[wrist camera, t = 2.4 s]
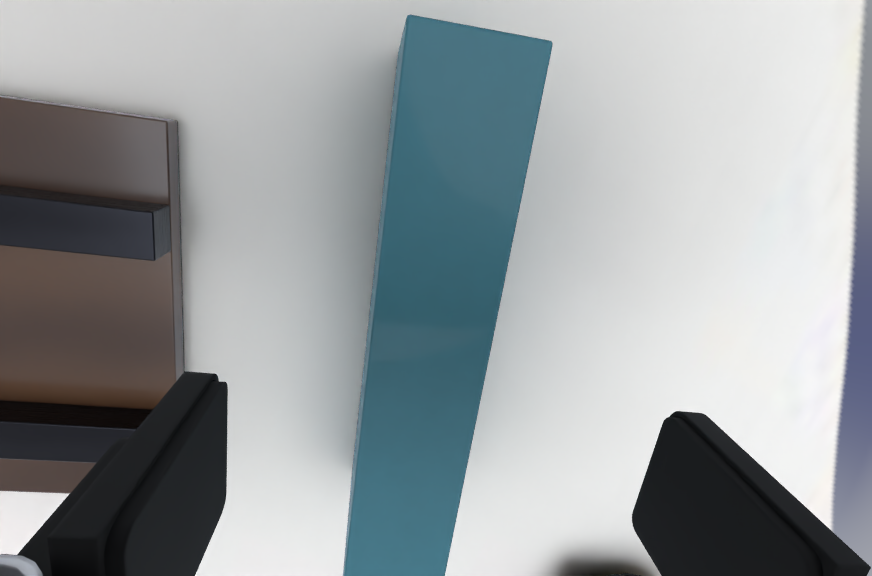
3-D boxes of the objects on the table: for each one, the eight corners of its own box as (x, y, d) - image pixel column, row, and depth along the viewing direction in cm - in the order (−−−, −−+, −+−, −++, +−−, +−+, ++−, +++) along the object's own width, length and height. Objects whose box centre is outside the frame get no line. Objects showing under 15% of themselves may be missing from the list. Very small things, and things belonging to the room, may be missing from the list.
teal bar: (398, 51, 15) (407, 13, 9) (491, 67, 15) (554, 41, 10) (352, 471, 20) (340, 609, 14) (423, 474, 20) (438, 610, 15)
